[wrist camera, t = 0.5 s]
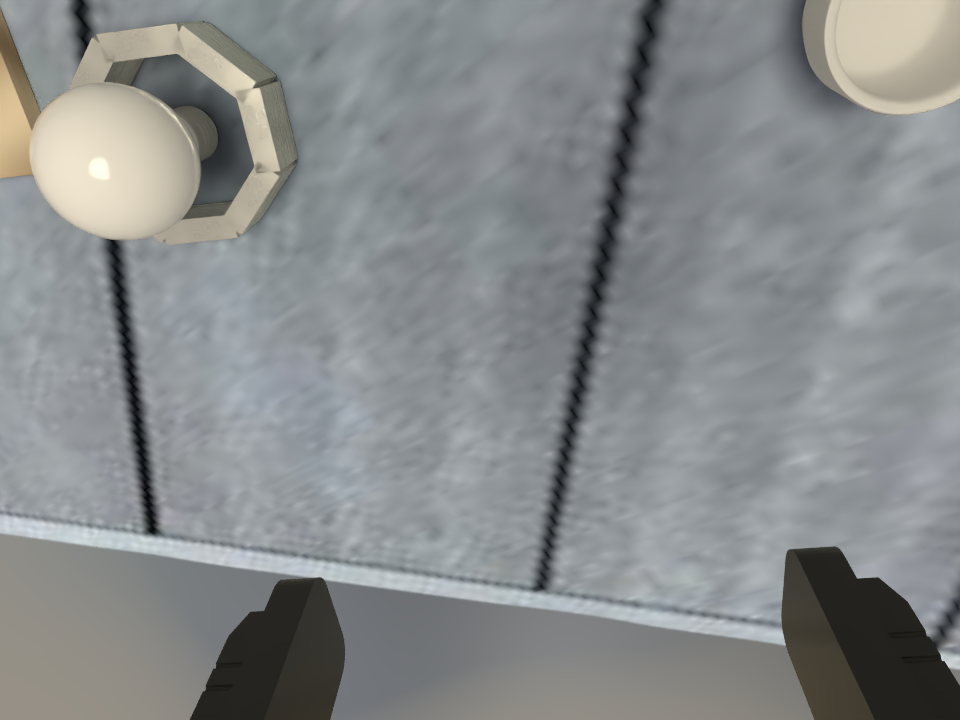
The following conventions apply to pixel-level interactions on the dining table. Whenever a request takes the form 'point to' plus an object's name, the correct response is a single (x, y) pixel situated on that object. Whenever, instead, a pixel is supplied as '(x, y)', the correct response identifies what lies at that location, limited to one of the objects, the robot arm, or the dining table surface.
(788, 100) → the dining table surface
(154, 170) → the lightbulb
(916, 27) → the teacup
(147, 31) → the collar
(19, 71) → the oak board
